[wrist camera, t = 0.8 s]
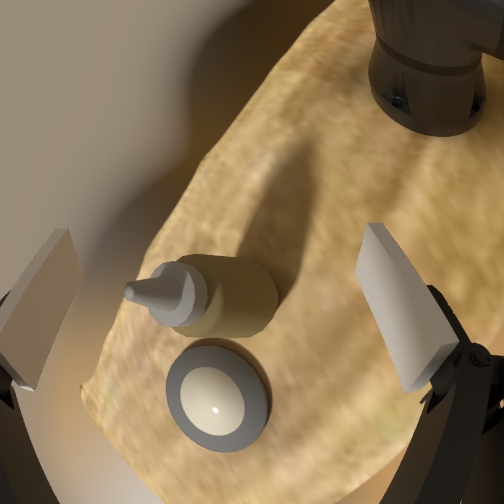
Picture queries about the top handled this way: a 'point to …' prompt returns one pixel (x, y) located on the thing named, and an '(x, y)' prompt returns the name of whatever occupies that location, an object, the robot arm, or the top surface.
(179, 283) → the squeeze bottle
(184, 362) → the coaster
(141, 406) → the top surface
